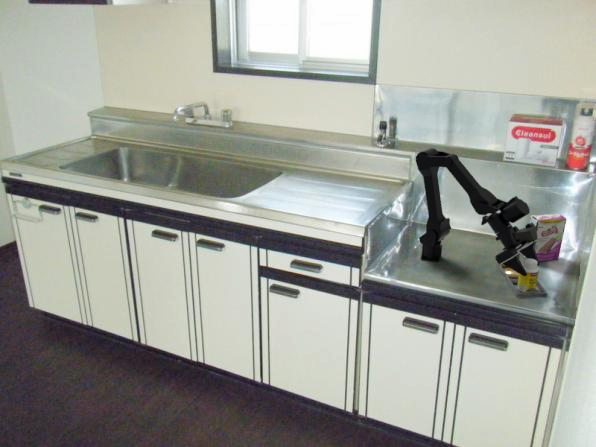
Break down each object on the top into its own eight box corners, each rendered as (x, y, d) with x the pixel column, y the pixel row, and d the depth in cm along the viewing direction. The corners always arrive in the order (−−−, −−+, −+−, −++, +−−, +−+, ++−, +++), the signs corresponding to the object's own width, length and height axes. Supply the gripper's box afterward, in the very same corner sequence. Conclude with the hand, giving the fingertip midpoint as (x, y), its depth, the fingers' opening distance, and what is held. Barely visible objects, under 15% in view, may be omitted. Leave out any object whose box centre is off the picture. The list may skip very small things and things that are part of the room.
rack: (547, 297, 181) (547, 294, 181) (516, 297, 182) (516, 293, 181) (523, 265, 202) (524, 262, 201) (496, 265, 202) (496, 262, 201)
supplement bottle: (528, 295, 182) (532, 266, 179) (513, 288, 187) (517, 260, 183) (539, 290, 185) (544, 262, 181) (524, 283, 190) (528, 255, 186)
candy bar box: (530, 263, 203) (537, 220, 197) (522, 257, 208) (529, 215, 201) (559, 260, 205) (567, 218, 198) (551, 254, 209) (558, 212, 203)
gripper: (509, 226, 173) (540, 270, 171) (535, 209, 186) (564, 250, 183) (482, 242, 182) (511, 285, 179) (509, 225, 194) (536, 264, 191)
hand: (532, 270), depth 183 cm, fingers open, 9 cm apart
